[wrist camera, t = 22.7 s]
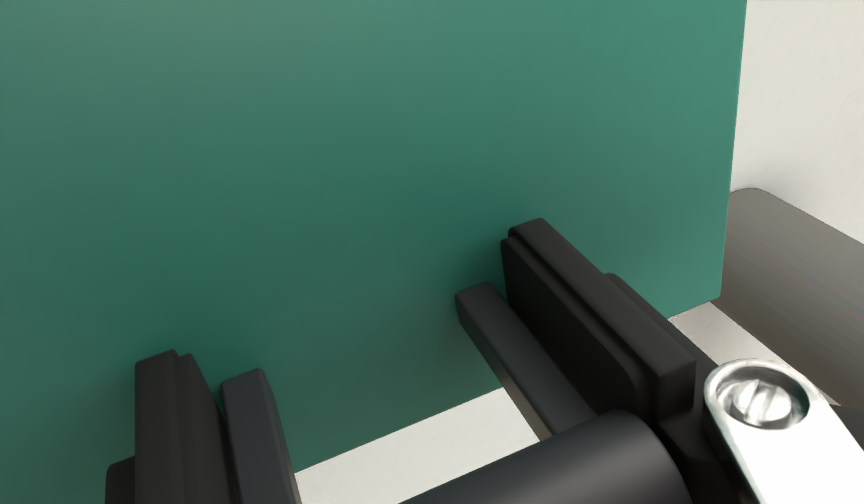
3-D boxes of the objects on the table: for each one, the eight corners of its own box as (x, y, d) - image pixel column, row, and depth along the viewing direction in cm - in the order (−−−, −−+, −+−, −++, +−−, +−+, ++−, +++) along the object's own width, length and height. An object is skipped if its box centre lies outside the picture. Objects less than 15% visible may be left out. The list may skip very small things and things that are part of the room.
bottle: (669, 229, 32) (992, 461, 20) (771, 164, 32) (1148, 354, 20) (690, 309, 36) (976, 549, 24) (782, 251, 36) (1110, 456, 24)
